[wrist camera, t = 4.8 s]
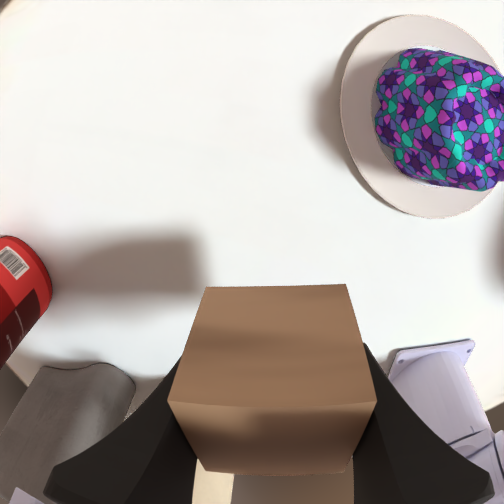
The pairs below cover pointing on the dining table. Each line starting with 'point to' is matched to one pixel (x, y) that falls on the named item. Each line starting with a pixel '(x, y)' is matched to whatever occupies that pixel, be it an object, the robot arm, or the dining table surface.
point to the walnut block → (274, 381)
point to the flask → (60, 423)
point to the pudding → (425, 116)
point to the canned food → (20, 293)
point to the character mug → (212, 487)
